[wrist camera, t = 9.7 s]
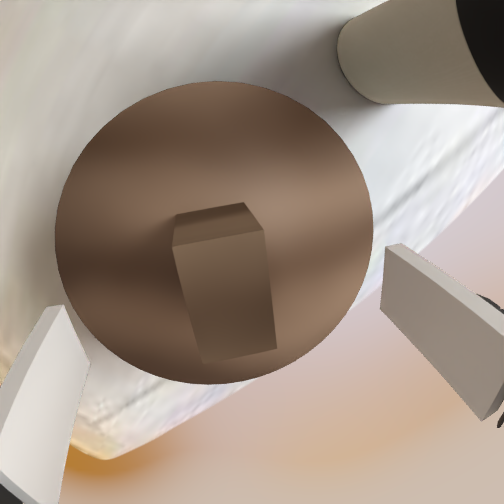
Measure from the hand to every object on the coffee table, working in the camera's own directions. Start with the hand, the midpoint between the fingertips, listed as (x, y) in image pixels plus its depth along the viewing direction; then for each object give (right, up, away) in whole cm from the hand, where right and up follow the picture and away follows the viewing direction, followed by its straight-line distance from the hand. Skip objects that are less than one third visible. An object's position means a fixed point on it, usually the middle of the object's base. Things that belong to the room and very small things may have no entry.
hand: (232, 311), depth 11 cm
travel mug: (+11, +18, +10) cm, 23 cm away
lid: (-1, +2, +5) cm, 6 cm away
